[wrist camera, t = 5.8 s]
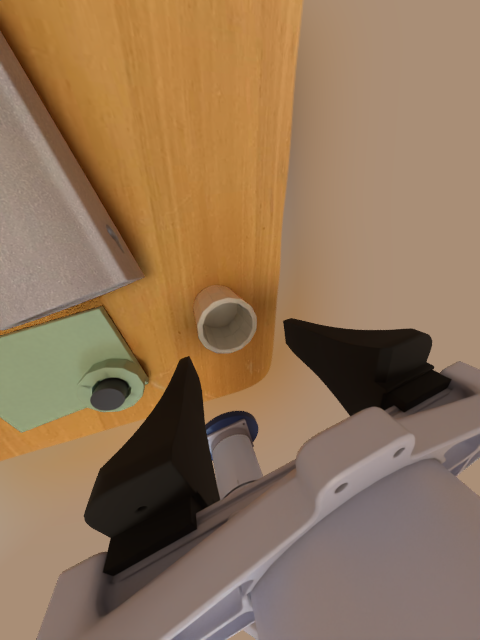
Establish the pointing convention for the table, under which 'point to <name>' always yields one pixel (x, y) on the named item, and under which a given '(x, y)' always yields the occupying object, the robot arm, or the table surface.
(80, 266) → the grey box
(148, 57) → the table surface
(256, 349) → the table surface
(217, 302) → the cup
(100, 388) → the button
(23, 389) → the scale
